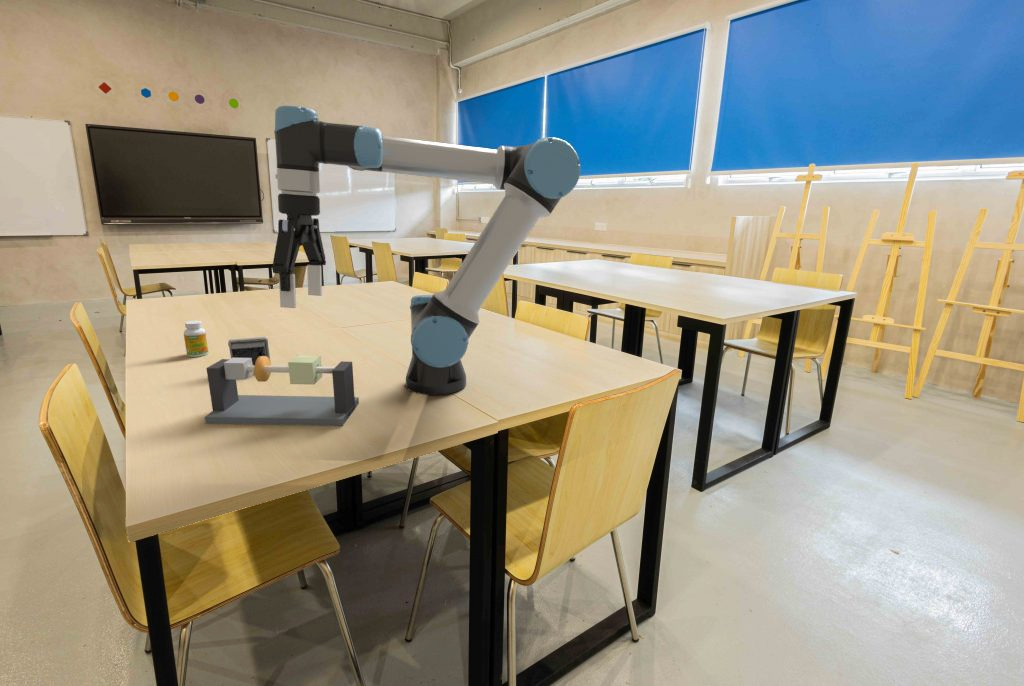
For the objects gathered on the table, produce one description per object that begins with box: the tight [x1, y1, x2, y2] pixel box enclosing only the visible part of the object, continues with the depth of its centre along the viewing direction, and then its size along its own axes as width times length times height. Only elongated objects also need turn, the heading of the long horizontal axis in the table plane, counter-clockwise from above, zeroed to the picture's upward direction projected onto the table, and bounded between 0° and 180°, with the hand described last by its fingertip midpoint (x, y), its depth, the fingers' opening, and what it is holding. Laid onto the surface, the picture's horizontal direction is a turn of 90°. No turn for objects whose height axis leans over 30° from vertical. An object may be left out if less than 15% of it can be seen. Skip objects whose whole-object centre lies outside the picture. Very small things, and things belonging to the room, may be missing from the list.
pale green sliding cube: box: [287, 354, 323, 385], centre depth 108 cm, size 5×5×5 cm
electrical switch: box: [227, 336, 272, 365], centre depth 134 cm, size 9×5×9 cm, turn 113°
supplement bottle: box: [183, 320, 209, 358], centre depth 147 cm, size 5×5×10 cm
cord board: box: [204, 356, 360, 427], centre depth 109 cm, size 28×12×13 cm, turn 91°
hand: (302, 301), depth 105 cm, fingers open, 13 cm apart
